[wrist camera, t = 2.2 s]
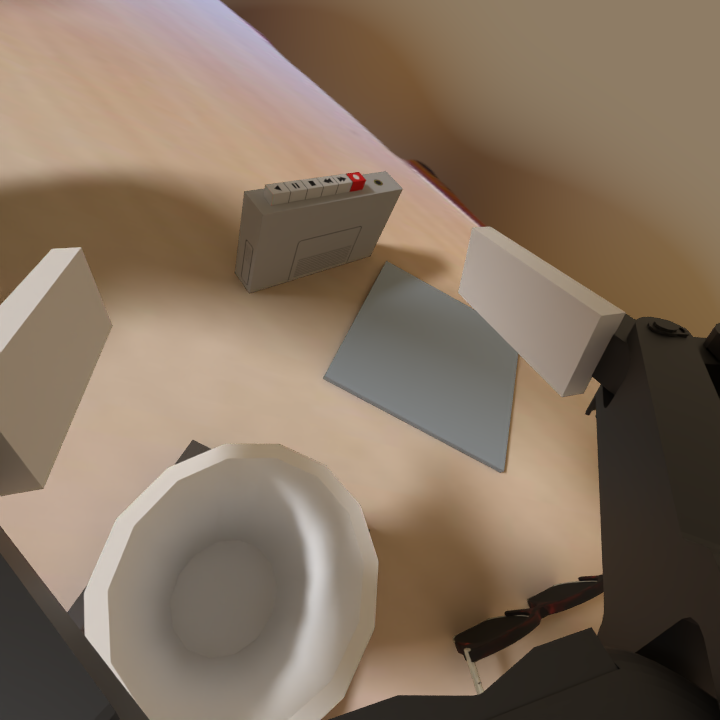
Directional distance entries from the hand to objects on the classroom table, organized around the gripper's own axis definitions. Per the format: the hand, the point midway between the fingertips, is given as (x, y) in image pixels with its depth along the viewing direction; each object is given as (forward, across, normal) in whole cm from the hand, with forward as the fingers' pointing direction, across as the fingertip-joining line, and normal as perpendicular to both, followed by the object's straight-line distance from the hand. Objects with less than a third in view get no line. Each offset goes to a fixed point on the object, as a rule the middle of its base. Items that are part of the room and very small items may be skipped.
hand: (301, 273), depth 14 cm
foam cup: (-1, -6, -20) cm, 21 cm away
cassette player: (+26, +4, -11) cm, 28 cm away
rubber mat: (+16, +15, -17) cm, 28 cm away
